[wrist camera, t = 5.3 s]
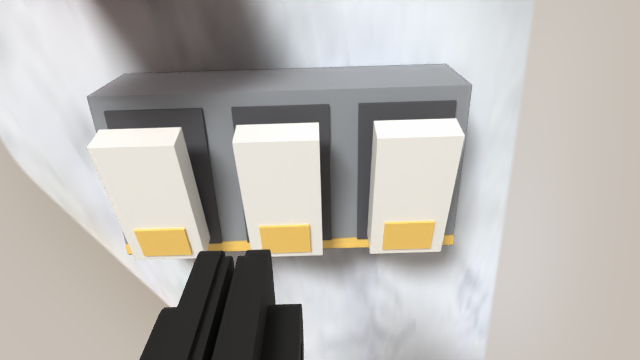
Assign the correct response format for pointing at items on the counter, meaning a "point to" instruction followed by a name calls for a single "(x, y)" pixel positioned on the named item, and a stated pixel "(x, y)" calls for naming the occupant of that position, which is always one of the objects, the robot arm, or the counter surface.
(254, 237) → the rocker
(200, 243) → the rocker
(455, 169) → the rocker
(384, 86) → the switch unit
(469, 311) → the counter surface
